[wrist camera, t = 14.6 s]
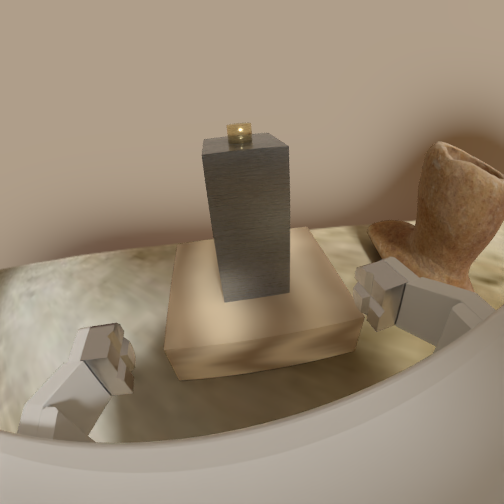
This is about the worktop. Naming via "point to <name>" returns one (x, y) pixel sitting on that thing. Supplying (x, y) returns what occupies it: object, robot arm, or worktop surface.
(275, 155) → the block
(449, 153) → the brown piece
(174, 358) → the maple stand
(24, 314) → the worktop surface
